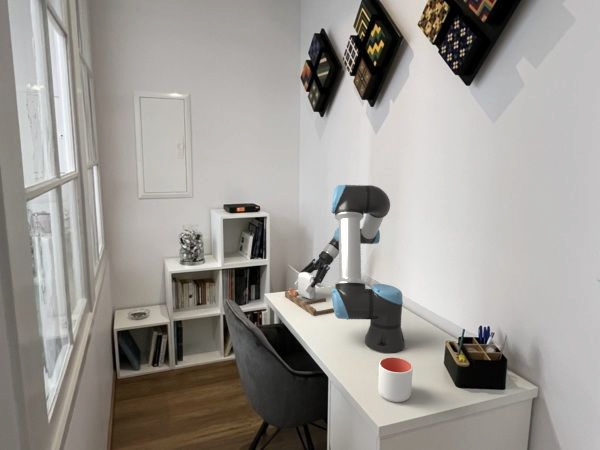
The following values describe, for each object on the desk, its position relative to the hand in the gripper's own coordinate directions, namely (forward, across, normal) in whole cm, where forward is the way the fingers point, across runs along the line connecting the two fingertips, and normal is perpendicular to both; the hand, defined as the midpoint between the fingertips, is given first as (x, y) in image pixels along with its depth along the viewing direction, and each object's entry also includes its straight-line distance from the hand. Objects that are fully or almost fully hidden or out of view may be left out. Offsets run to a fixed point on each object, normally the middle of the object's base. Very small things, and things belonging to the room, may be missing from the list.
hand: (301, 288), depth 215 cm
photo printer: (+1, 0, -6) cm, 6 cm away
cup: (+15, -88, +6) cm, 89 cm away
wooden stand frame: (+2, -7, -6) cm, 10 cm away
